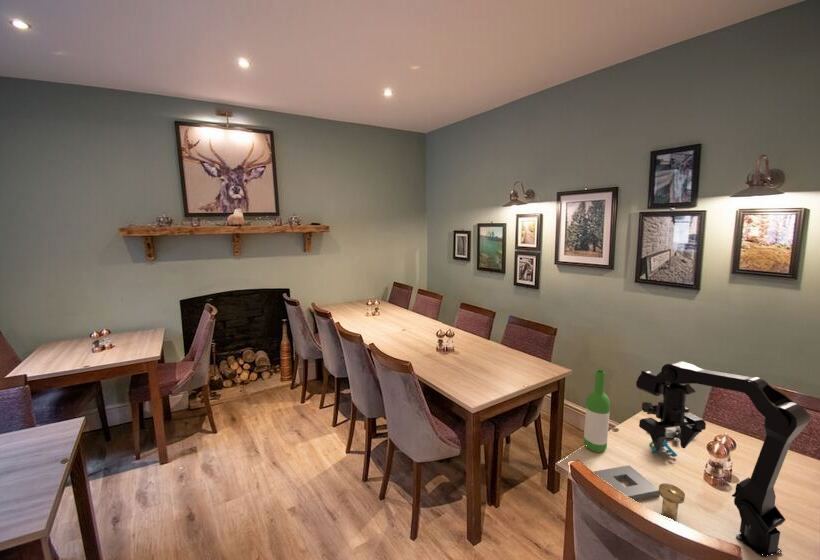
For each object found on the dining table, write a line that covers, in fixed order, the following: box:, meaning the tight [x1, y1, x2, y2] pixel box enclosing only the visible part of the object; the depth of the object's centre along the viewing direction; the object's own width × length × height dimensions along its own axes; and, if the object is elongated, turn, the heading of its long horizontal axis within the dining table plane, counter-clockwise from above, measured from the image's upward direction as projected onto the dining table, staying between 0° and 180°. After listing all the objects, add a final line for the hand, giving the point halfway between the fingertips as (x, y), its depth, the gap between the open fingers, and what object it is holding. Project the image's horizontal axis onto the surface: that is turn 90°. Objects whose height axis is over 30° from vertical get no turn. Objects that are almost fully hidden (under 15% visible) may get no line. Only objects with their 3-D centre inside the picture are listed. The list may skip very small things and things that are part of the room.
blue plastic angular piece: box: [649, 440, 678, 457], centre depth 134 cm, size 11×6×10 cm
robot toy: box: [659, 419, 681, 442], centre depth 146 cm, size 12×4×15 cm
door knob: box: [658, 483, 686, 522], centre depth 105 cm, size 6×6×8 cm
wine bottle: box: [583, 369, 611, 453], centre depth 135 cm, size 8×8×30 cm
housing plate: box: [592, 464, 661, 502], centre depth 117 cm, size 12×14×2 cm
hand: (670, 449), depth 114 cm, fingers open, 9 cm apart
